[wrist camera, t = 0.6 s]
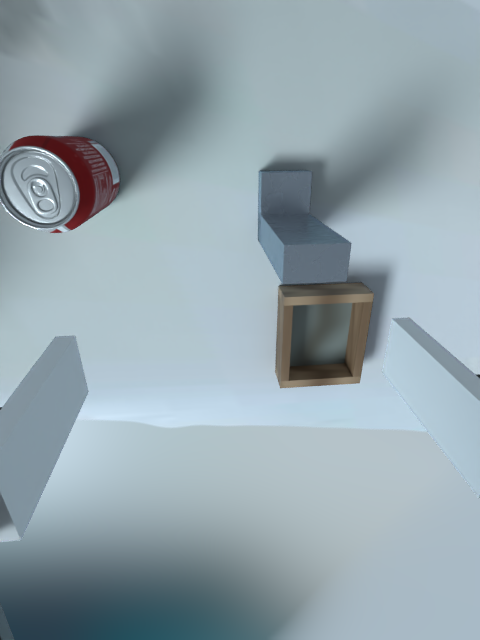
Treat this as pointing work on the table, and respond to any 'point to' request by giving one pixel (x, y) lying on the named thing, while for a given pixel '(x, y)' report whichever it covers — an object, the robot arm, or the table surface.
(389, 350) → the robot arm
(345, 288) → the wooden frame
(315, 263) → the bracket
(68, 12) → the table surface
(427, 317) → the table surface
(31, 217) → the soda can
